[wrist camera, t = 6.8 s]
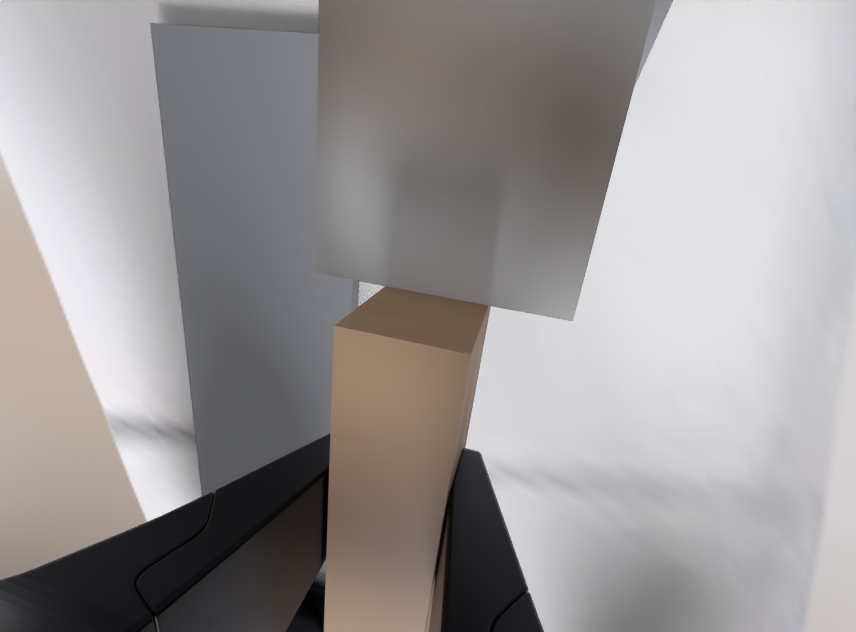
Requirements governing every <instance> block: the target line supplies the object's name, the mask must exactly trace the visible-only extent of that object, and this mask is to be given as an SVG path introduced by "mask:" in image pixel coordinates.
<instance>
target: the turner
mask: <svg viewBox="0 0 856 632" xmlns="http://www.w3.org/2000/svg"><path fill="white" fill-rule="evenodd" d="M655 4H656V0H319V27H318V95H317V164H316V232H315V273H318V274H323V275H329V276H334V277H339V278H345V279H350V280H355V281H361V282H366V283H371V284H377V285H382V286H385V287H384V288H383V289H381V290H380V291H379V292H378V293H376V294H375V295H374V296H372V297H371V298H370V299H368V300H367V301H366V302H364V303H363V304H362V305H360V306H359V307H358V308H357V309H355V310H354V311H353V312H351V313H350V314H349V315H347V316H346V317H345V318H343V319H342V320H341V321H339V322H338V323H337V324H336V325H334V343H333V373H332V403H331V432H330V462H329V492H328V521H327V551H326V581H325V610H324V632H429V626H430V618H431V609H432V600H433V592H434V583H435V574H436V568H437V562H438V556H439V551H440V545H441V539H442V533H443V527H444V521H445V516H446V510H447V504H448V498H449V493H450V490H451V486H452V482H453V479H454V476H455V472H456V469H457V465H458V462H459V459H460V455H461V452H462V449H463V448H465V445H466V440H467V434H468V429H469V423H470V417H471V412H472V406H473V401H474V395H475V390H476V384H477V379H478V373H479V367H480V362H481V356H482V351H483V345H484V340H485V334H486V329H487V323H488V317H489V312H490V306H494V307H499V308H505V309H510V310H516V311H521V312H526V313H532V314H537V315H542V316H548V317H553V318H558V319H564V320H569V321H573V318H574V314H575V311H576V307H577V303H578V299H579V295H580V291H581V288H582V284H583V280H584V276H585V272H586V268H587V265H588V261H589V257H590V253H591V249H592V245H593V242H594V238H595V234H596V230H597V226H598V222H599V219H600V215H601V211H602V207H603V203H604V199H605V196H606V192H607V188H608V184H609V180H610V176H611V173H612V169H613V165H614V161H615V157H616V153H617V150H618V146H619V142H620V138H621V134H622V130H623V127H624V123H625V119H626V115H627V111H628V108H629V104H630V100H631V96H632V92H633V88H634V85H635V81H636V77H637V73H638V69H639V65H640V62H641V58H642V54H643V50H644V46H645V42H646V39H647V35H648V31H649V27H650V23H651V19H652V16H653V12H654V8H655Z"/></svg>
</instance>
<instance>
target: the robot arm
mask: <svg viewBox="0 0 856 632" xmlns="http://www.w3.org/2000/svg"><path fill="white" fill-rule="evenodd" d="M329 462H330V433H329V434H327V435H325V436H323V437H321V438H319V439H317V440H315V441H313V442H311V443H309V444H307V445H305V446H303V447H301V448H299V449H297V450H295V451H293V452H291V453H289V454H287V455H285V456H283V457H281V458H279V459H277V460H275V461H273V462H271V463H269V464H267V465H265V466H263V467H261V468H259V469H257V470H255V471H253V472H251V473H249V474H247V475H245V476H243V477H241V478H239V479H237V480H235V481H233V482H231V483H229V484H226V485H224V486H222V487H220V488H218V489H216V490H215V492H214V493H213V492H210V493H208V494H206V495H204V496H202V497H200V498H198V499H196V500H194V501H192V502H190V503H188V504H185V505H183V506H181V507H179V508H177V509H175V510H173V511H171V512H169V513H166V514H164V515H162V516H160V517H158V518H155V519H153V520H151V521H148V522H146V523H144V524H141V525H139V526H137V527H134V528H132V529H130V530H127V531H125V532H123V533H120V534H118V535H115V536H113V537H111V538H108V539H105V540H103V541H101V542H98V543H96V544H93V545H91V546H88V547H86V548H84V549H81V550H79V551H76V552H74V553H71V554H69V555H66V556H64V557H62V558H59V559H57V560H54V561H52V562H49V563H47V564H45V565H42V566H40V567H37V568H35V569H32V570H30V571H27V572H24V573H21V574H19V575H15V576H12V577H9V578H6V579H2V580H0V632H324V610H325V587H324V586H321V585H318V584H315V583H313V581H314V579H315V577H316V575H317V574H318V572H319V570H320V568H321V567H322V565H323V563H324V561H325V559H326V551H327V521H328V492H329ZM429 632H544V630H543V628H542V625H541V622H540V620H539V617H538V614H537V612H536V609H535V606H534V603H533V600H532V597H531V595H530V593H529V592H528V587H527V584H526V581H525V578H524V575H523V572H522V570H521V567H520V564H519V561H518V558H517V555H516V552H515V550H514V547H513V544H512V541H511V538H510V535H509V533H508V530H507V527H506V524H505V521H504V518H503V515H502V513H501V510H500V507H499V504H498V501H497V498H496V495H495V493H494V490H493V487H492V484H491V481H490V478H489V476H488V473H487V470H486V467H485V464H484V461H483V458H482V456H481V453H480V452H478V451H475V450H471V449H467V448H463V449H462V452H461V455H460V459H459V462H458V465H457V469H456V472H455V476H454V479H453V482H452V486H451V490H450V493H449V498H448V504H447V510H446V516H445V521H444V527H443V533H442V539H441V545H440V551H439V556H438V562H437V568H436V574H435V583H434V592H433V600H432V609H431V618H430V626H429Z"/></svg>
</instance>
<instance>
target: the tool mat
mask: <svg viewBox="0 0 856 632" xmlns="http://www.w3.org/2000/svg"><path fill="white" fill-rule="evenodd" d="M150 25H151V34H152V43H153V52H154V61H155V70H156V79H157V88H158V98H159V107H160V116H161V125H162V134H163V143H164V152H165V161H166V171H167V180H168V189H169V198H170V207H171V216H172V225H173V234H174V243H175V253H176V262H177V271H178V280H179V289H180V298H181V307H182V316H183V326H184V335H185V344H186V353H187V362H188V371H189V380H190V389H191V398H192V408H193V417H194V426H195V435H196V444H197V453H198V462H199V471H200V481H201V490H202V496H204V495H206V494H208V493H210V492H213V493H214V492H215V490H216V489H218V488H220V487H222V486H224V485H226V484H229V483H231V482H233V481H235V480H237V479H239V478H241V477H243V476H245V475H247V474H249V473H251V472H253V471H255V470H257V469H259V468H261V467H263V466H265V465H267V464H269V463H271V462H273V461H275V460H277V459H279V458H281V457H283V456H285V455H287V454H289V453H291V452H293V451H295V450H297V449H299V448H301V447H303V446H305V445H307V444H309V443H311V442H313V441H315V440H317V439H319V438H321V437H323V436H325V435H327V434H329V433H330V432H331V403H332V373H333V343H334V325H336V324H337V323H338V322H339V321H341V320H342V319H343V318H345V317H346V316H347V315H349V314H350V313H351V312H353V311H354V310H355V309H357V303H358V285H359V281H355V280H350V279H345V278H339V277H334V276H329V275H323V274H318V273H315V232H316V164H317V95H318V34H317V33H301V32H285V31H269V30H253V29H237V28H221V27H205V26H189V25H173V24H157V23H150Z"/></svg>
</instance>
